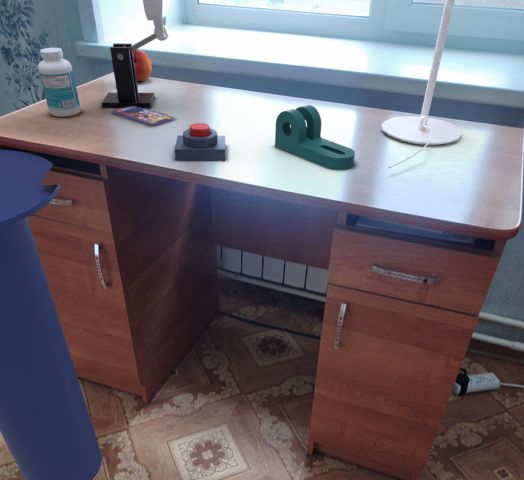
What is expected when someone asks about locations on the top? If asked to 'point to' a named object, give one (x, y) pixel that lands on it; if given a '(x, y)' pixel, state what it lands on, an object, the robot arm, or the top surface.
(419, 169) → the top surface
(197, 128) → the button
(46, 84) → the pill bottle
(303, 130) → the bracket
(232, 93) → the top surface
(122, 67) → the bracket
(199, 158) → the button box
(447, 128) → the desk lamp
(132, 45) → the lever
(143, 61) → the fruit
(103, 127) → the top surface
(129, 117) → the smartphone
